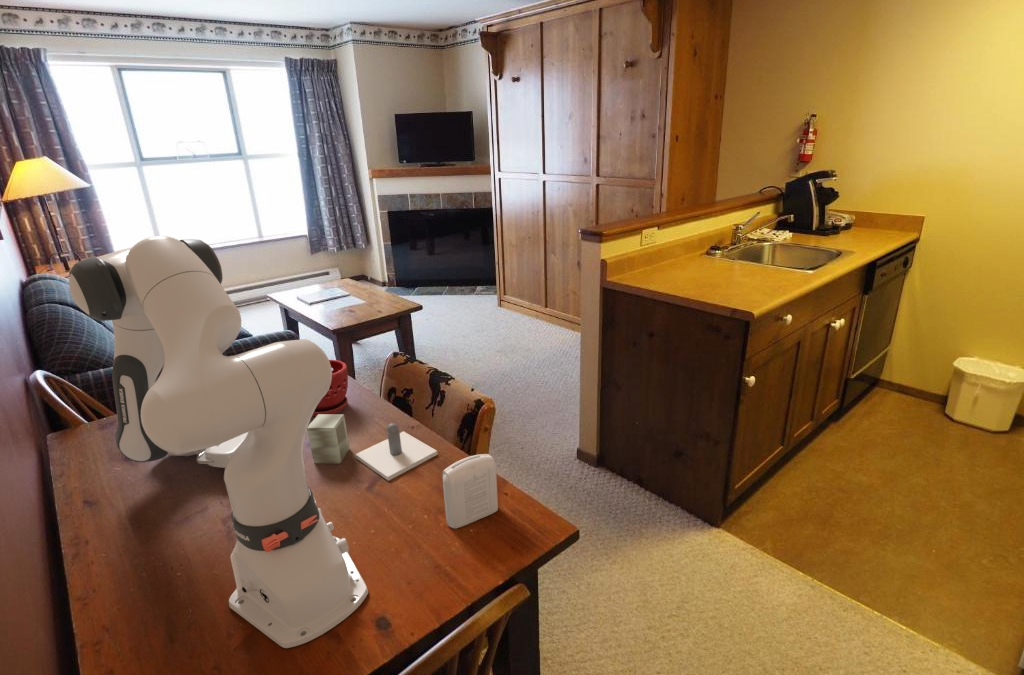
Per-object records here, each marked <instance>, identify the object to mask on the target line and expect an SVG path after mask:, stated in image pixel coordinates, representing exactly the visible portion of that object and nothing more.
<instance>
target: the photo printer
mask: <svg viewBox="0 0 1024 675" xmlns="http://www.w3.org/2000/svg"><path fill="white" fill-rule="evenodd" d="M441 479H442V488H443V498H444V499H443V500H444V510H445V517H446V524H447V526H448V527H450V528H451V529H458V528H462V527H465V526H468V525H469V524H472V523H474V522H477V521H478V520H480V519H483V518H485V517H488V516H491V515H493V514H495V513H496V512H497V511H498V510H499V501H498V500H499V499H498V484H497V467H496V462H495V459H494V458H493V456H491V454H489V453H483V454H482V453H479V454H475V455H470V456H467V457H465V458H462V459H460V460H457V461H455V462H454V463H452V464H450V465H449V466H447V467H445V469H444V470H443V471H442V476H441Z"/></svg>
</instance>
